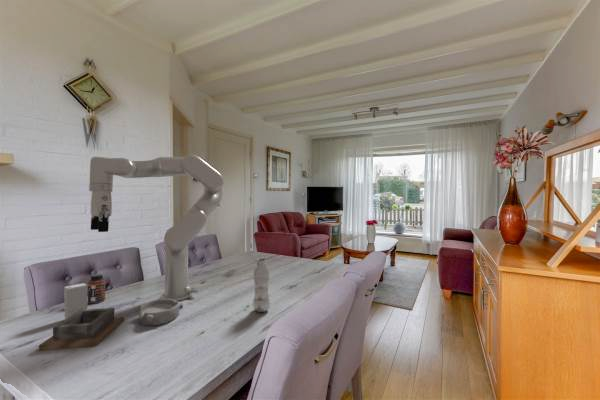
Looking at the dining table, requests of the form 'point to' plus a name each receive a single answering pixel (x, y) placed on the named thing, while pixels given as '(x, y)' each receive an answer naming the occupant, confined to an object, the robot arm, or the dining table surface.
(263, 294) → the plastic bottle
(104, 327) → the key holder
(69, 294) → the skincare box
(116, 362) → the dining table surface
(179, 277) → the robot arm
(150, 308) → the dish
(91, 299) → the supplement bottle
